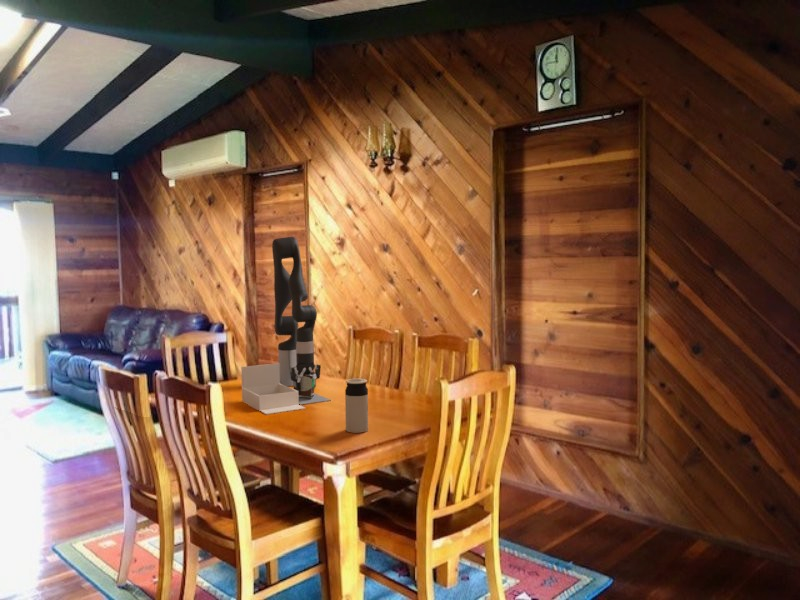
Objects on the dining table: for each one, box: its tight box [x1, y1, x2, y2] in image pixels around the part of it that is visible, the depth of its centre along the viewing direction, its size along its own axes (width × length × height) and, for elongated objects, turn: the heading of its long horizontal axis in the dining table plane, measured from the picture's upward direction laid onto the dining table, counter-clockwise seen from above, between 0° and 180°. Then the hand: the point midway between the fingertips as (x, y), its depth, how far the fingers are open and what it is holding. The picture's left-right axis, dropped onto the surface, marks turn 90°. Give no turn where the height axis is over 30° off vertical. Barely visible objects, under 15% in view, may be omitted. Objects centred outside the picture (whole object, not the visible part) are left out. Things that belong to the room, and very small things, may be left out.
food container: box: [292, 371, 317, 397], centre depth 281 cm, size 12×6×10 cm, turn 59°
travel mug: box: [344, 378, 369, 434], centre depth 229 cm, size 8×8×18 cm
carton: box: [240, 362, 307, 416], centre depth 268 cm, size 17×27×15 cm, turn 34°
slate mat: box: [299, 392, 332, 406], centre depth 281 cm, size 14×20×1 cm
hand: (305, 389), depth 280 cm, fingers closed on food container, 6 cm apart
